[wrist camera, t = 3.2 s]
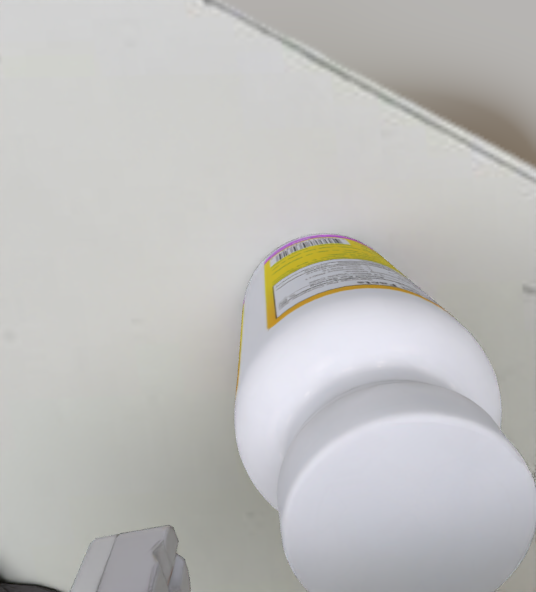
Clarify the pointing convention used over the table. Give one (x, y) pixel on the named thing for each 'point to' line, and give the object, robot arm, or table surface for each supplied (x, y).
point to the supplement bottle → (375, 428)
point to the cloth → (22, 588)
